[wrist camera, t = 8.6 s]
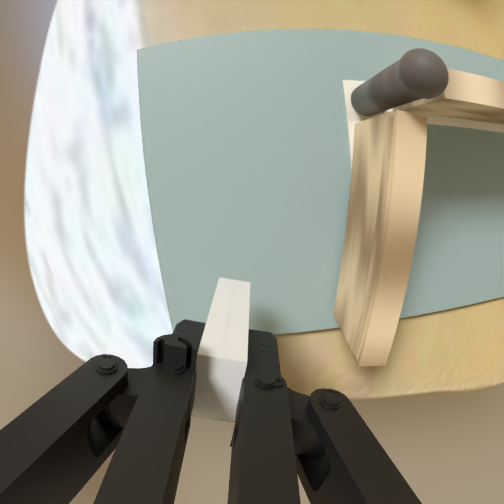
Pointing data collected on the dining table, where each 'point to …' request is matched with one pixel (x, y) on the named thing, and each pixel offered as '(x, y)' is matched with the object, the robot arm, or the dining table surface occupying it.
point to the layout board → (303, 174)
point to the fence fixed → (430, 90)
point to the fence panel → (380, 231)
